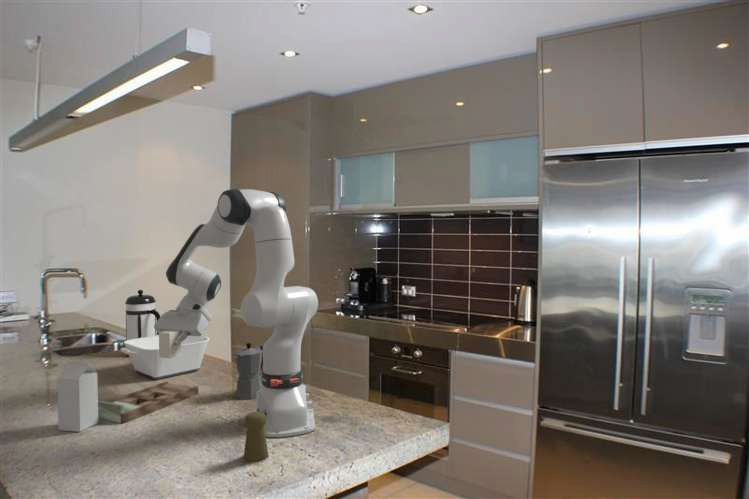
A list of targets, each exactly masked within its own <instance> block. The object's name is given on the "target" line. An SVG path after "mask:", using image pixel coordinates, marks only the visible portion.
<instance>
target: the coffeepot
mask: <svg viewBox="0 0 749 499" xmlns="http://www.w3.org/2000/svg"><path fill="white" fill-rule="evenodd" d="M245 345H246V348H244V349H240V350H239V349H238V350H237V351H235V352H234V357H235V363H236V364H235V365H236V370H237V373H238V379H237V383H236V391H235V398H237V399H239V400H254V399H257V391H258V390H259V389H260V388H261V387H262V379H261V375H260V371H261V370H263V346H264V345H259V346H256V347H254V348H253V347H252V343H250V342H247V343H246V344H245Z"/></svg>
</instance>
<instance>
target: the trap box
mask: <svg viewBox="0 0 749 499" xmlns="http://www.w3.org/2000/svg"><path fill="white" fill-rule="evenodd" d="M197 395H199V386H198V385H196V386H186V385H180V384H174V383H169V381H163V382H161V383H158V384H155V385H151V386H149V387H146V388H143V389H140V390H139V389H138V390H137V391H134V392H131V393H128V394H125V395H122V396H119V397H116V398H112V399H111V400H108V401H104V400H99V399H98V420H99V419H101V420H105V421H110V422H115V423H117V424H118V423H119V424H125V423H128V422H130V421H131V422H132V421H133V420H136V419H138V418H141V417H143V416H146V415H149V414H151V413H154V412H156V411H159V410H161V409H163V408H166V407H169V406H171V405H173V404H174V405H175V404H176V403H179V402H181V401H184V400H186V399H189V398H191V397H194V396H197Z"/></svg>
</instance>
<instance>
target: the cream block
mask: <svg viewBox="0 0 749 499" xmlns="http://www.w3.org/2000/svg"><path fill="white" fill-rule="evenodd" d="M180 335H181V331H175V330H168V331H163V332H159V357H160V358H169V359H171V358H174V357H178V356H181V355H182V351H181V343H180V345H175V344H174V343H173V342H174V341H175V338H178V337H179V336H180Z"/></svg>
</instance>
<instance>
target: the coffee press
mask: <svg viewBox="0 0 749 499" xmlns="http://www.w3.org/2000/svg"><path fill="white" fill-rule="evenodd" d="M143 293H144V291H143V289H139V290H138V291H137V294H136V295H131V296H128V297H127V298H126V300H125V301H124V304H125V307H126V308H125V336H126V338H125V339H126V340H125V341H127V340H131V339H137V338H143V337H149V336H156V335H159V333H158V332H157V331H156V330H155V329H154V325H155V323H156V322H157V321H158V319H159V318H160V317H161V314H160V312H158V311H157V309H156V302H157V300H156V299H155V297H154V296H153V295H151V294H143ZM123 356H124V357H127V356H129V354H125V353H123Z"/></svg>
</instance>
